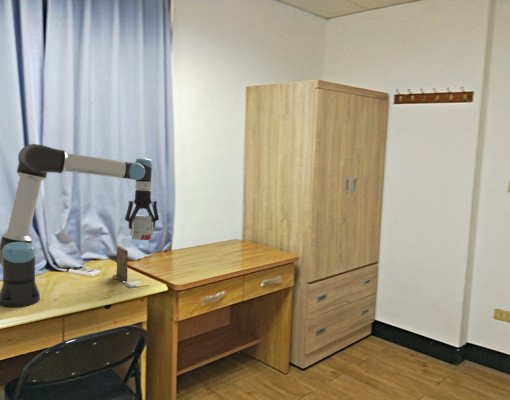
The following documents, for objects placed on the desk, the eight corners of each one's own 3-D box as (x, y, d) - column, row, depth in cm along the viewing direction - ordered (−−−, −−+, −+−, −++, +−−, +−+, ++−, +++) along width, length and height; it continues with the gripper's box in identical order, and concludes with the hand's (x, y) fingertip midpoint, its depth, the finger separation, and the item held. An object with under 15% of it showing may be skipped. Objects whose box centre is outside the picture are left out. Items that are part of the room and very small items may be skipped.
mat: (128, 288, 213) (128, 287, 213) (122, 282, 222) (122, 281, 222) (149, 285, 219) (149, 284, 219) (142, 280, 227) (142, 279, 227)
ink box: (151, 238, 234) (152, 215, 233) (148, 240, 229) (149, 216, 228) (134, 237, 235) (135, 214, 234) (131, 239, 230) (132, 215, 229)
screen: (120, 282, 222) (121, 251, 221) (113, 276, 232) (113, 246, 231) (127, 281, 224) (127, 250, 222) (119, 275, 234) (120, 246, 232)
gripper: (123, 190, 220) (122, 237, 223) (167, 190, 232) (165, 235, 235) (118, 189, 227) (117, 234, 229) (161, 189, 239) (159, 232, 241)
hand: (141, 234), depth 232 cm, fingers closed on ink box, 9 cm apart
